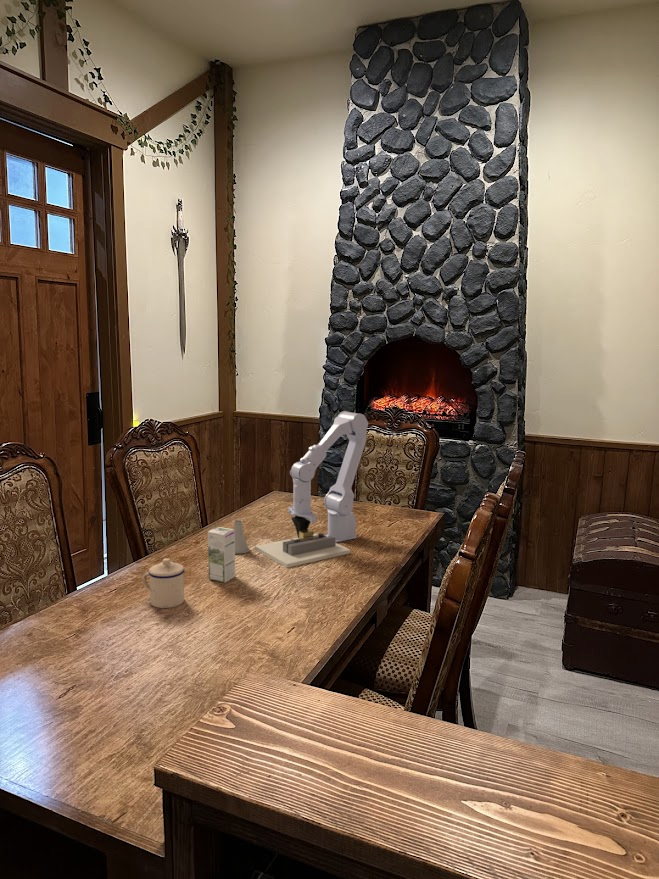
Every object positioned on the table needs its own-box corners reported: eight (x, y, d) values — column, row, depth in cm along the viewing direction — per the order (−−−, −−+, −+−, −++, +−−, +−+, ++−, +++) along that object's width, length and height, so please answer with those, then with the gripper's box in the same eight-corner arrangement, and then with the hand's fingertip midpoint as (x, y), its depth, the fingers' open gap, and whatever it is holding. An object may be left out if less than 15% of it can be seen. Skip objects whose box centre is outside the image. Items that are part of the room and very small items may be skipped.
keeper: (309, 542, 214) (309, 529, 214) (313, 544, 212) (313, 531, 212) (299, 544, 212) (299, 531, 211) (303, 546, 210) (303, 533, 209)
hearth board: (315, 537, 224) (315, 525, 223) (350, 553, 208) (350, 540, 207) (254, 549, 210) (254, 537, 209) (286, 567, 194) (286, 554, 193)
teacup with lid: (191, 598, 171) (191, 556, 169) (172, 611, 162) (171, 567, 161) (153, 591, 175) (152, 550, 173) (132, 604, 166) (131, 561, 165)
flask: (251, 547, 212) (251, 518, 210) (246, 555, 205) (246, 524, 203) (230, 546, 213) (229, 517, 211) (224, 554, 206) (224, 523, 204)
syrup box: (236, 576, 186) (235, 528, 184) (224, 583, 181) (223, 533, 179) (219, 573, 189) (219, 525, 186) (207, 580, 183) (206, 531, 181)
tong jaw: (322, 542, 214) (322, 532, 213) (325, 544, 212) (326, 534, 211) (282, 551, 205) (282, 540, 205) (286, 553, 203) (286, 542, 203)
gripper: (280, 495, 216) (280, 534, 218) (303, 505, 204) (303, 546, 206) (298, 492, 220) (297, 531, 222) (322, 502, 208) (321, 542, 210)
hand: (301, 538), depth 214 cm, fingers closed
